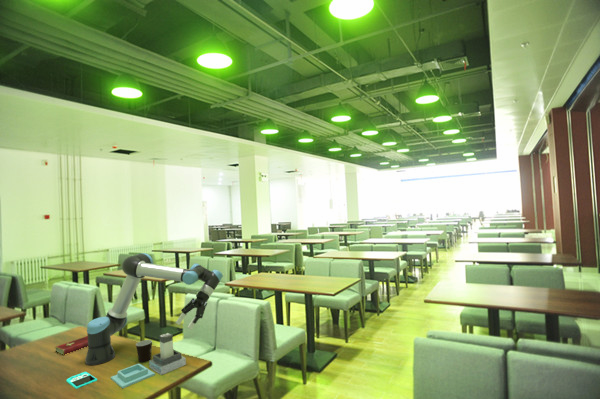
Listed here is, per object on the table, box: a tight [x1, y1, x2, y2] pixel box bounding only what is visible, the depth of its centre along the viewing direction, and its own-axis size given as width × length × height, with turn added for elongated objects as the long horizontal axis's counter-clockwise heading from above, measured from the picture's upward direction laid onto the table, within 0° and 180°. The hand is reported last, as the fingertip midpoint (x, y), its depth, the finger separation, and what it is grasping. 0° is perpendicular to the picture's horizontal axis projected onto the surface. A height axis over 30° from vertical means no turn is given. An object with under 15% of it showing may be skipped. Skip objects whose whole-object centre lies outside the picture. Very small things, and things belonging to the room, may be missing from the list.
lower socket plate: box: [110, 363, 156, 389], centre depth 178 cm, size 16×16×4 cm
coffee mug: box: [135, 339, 153, 364], centre depth 199 cm, size 12×9×10 cm
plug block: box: [159, 332, 174, 359], centre depth 188 cm, size 5×5×13 cm
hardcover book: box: [54, 335, 88, 356], centre depth 224 cm, size 12×21×4 cm, turn 147°
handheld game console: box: [66, 371, 98, 390], centre depth 178 cm, size 10×16×1 cm, turn 51°
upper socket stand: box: [148, 348, 187, 376], centre depth 188 cm, size 14×14×6 cm
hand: (183, 326), depth 196 cm, fingers open, 13 cm apart
